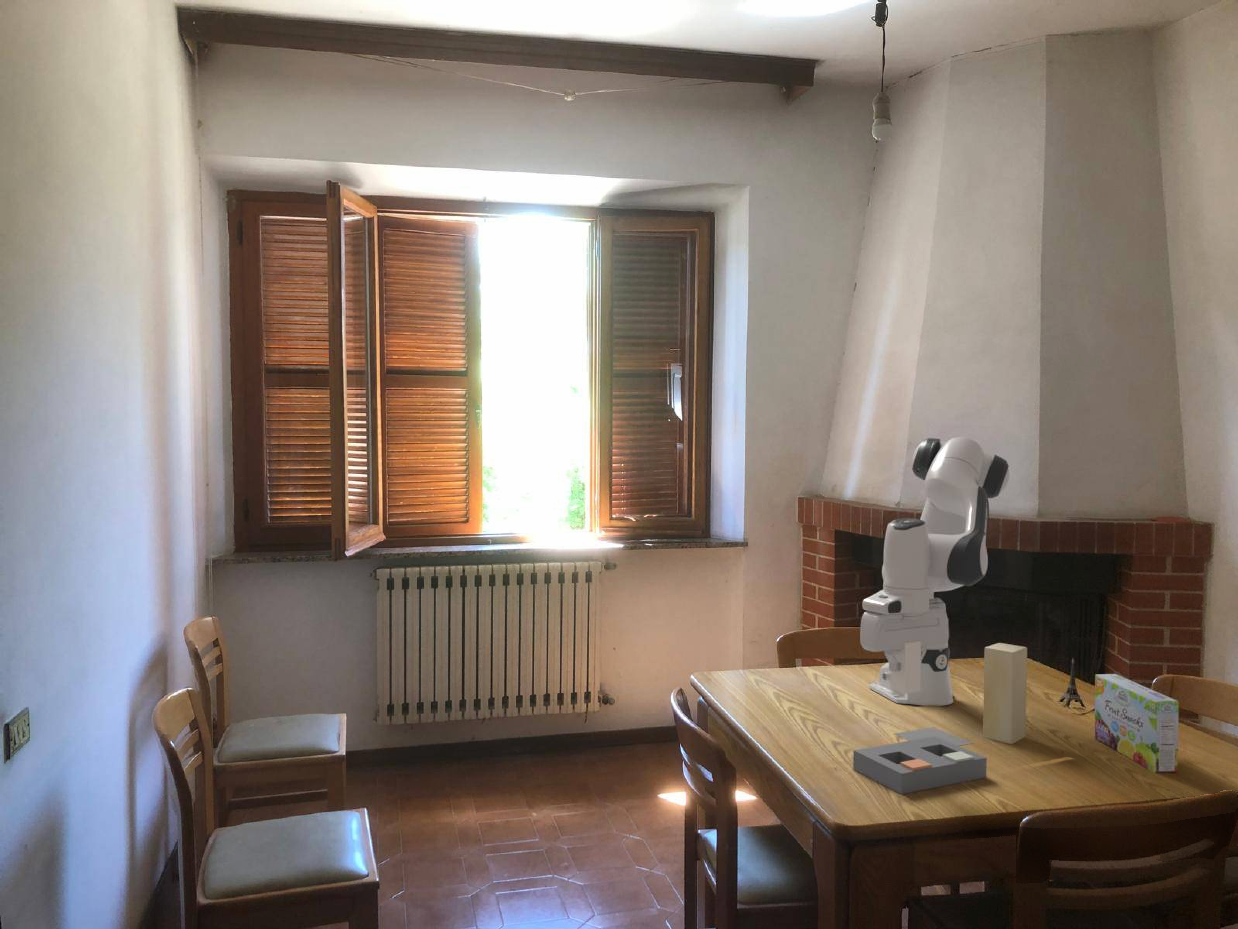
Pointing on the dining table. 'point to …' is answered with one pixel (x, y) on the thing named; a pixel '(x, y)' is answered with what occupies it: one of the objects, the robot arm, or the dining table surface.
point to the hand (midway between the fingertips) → (905, 669)
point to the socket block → (919, 764)
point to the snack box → (1137, 722)
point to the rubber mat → (932, 735)
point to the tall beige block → (1005, 692)
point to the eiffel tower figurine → (1072, 690)
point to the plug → (908, 668)
